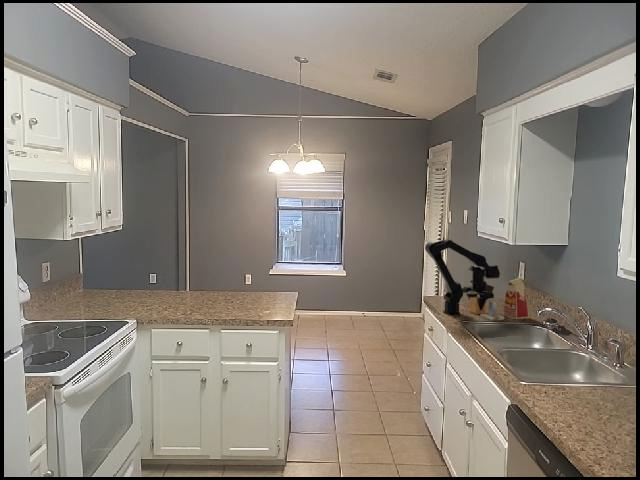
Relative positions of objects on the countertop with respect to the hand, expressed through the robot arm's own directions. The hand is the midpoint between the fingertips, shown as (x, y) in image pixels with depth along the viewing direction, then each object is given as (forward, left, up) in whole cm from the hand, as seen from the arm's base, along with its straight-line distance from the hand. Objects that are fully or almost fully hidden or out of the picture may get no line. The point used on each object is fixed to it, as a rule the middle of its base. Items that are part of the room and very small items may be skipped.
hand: (477, 308), depth 245 cm
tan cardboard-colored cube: (0, 0, -2) cm, 2 cm away
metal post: (0, -12, -1) cm, 12 cm away
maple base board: (0, -12, -2) cm, 12 cm away
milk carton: (+12, -14, -2) cm, 19 cm away
